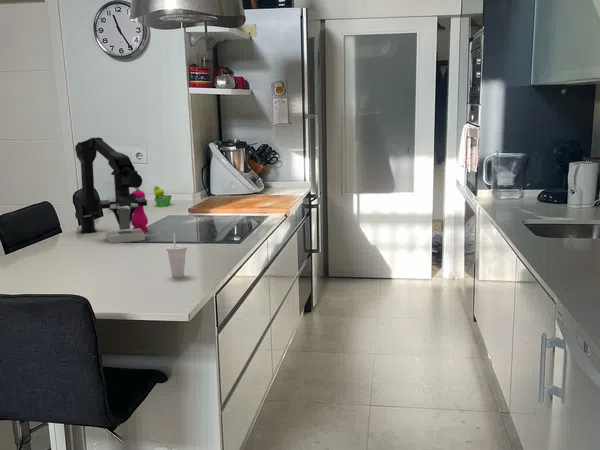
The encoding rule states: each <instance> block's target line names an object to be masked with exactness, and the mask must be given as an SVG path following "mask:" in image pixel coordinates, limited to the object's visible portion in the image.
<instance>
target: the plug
mask: <svg viewBox="0 0 600 450" xmlns="http://www.w3.org/2000/svg"><path fill="white" fill-rule="evenodd" d="M117 210H118V216H119V222H120V224H118V228H119V230H126V229H131V223H130V215H129V207H127V206H124V207H120V208H117Z"/></svg>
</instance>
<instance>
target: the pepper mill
mask: <svg viewBox="0 0 600 450" xmlns="http://www.w3.org/2000/svg"><path fill="white" fill-rule="evenodd" d="M134 189H135V190H134V191H132V192H131V194H135V195H136V198H145V199H146V194H145V192H144V191H142V190H140V187H139V188H134ZM137 206H138V208H136V209H135V211H134V213H133V216H132V219H131V223H130V225H132V229H137V228H140V229H141V230H142V231H143V232H144V233H147V232H148V227H147V225H148V223H149V221H148V217H147V215H146V213H145V210H144V206H139V205H137ZM146 231H147V232H146Z"/></svg>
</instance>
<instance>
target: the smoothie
mask: <svg viewBox="0 0 600 450" xmlns="http://www.w3.org/2000/svg"><path fill="white" fill-rule="evenodd" d="M172 237H173V244H172V245H168V246H166V252H167V255H168V256H167V257H168V260H169V266H170V267H169V268H170V273H171V277H172V278H175V279H176V278H177V279H178V278H184V277H185V268H186V267H185V266H186V256H187V255H186V252H187V250H188V248H187V245H185V244H176V233H172Z"/></svg>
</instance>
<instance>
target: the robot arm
mask: <svg viewBox="0 0 600 450" xmlns="http://www.w3.org/2000/svg"><path fill="white" fill-rule="evenodd" d="M74 149H75V153H76V155H75V156H76V157H77V159H78V160H79V162H80V170H81V173H80V174H81V190H82V193H81V194H82V195H81V197H80V199H79V201H78V208H77V209H76V212H75V213H74V215H75V219H77V220H80V226H81V227H80V228H81V229H79V230H80V233H81V234H85V233H93V232H94V233H96V232H97V229H96V224H95V218H98V217H100V211H101V210H102V209H103V210H104V209H109V211H112V212H113V214H114V216H115V219H116V222H117V224H118V225H119V224H120V222H119V216H118V208H117V206H118V207H120V208H124V207H128V209H129V215H130V224H131V219H132V216H133V213H134V211H135V209H136V208H138V206H137V205H139V206H143V207H147V206H148V200H147V199H146V197H145V198H136V195H135V194H132V193H130V188H132V189H135V188H140V187H141V186H142V184H143V178H142V176H141V175H140V174H139V173H138V171H137V170H136V169H135V166H134V164H133V163H132V161H131V158H130V157H129V156H128V155H127V154H125V153H122V152H118V151H116V150H115V149H114V148H113V147H112V146H110V145H109V144H108V143H107V142H106V141H104V139H103V138H102V137H90V138H88V139H86V140H84V141H80V142H77V144H75V148H74ZM97 153H99V154H100V155H101V156H103V158H104V159H106V160H107V164H108V165H109V167H110V168H111V169H112V170H113V171H112V172H111V173H110V175H111V176H113V179H114V194H115V195H114V196H115V201H110V199H101V200H100V199H99V198H97V197H96V195H95V176H94V161H95V159H96V157H97Z"/></svg>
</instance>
